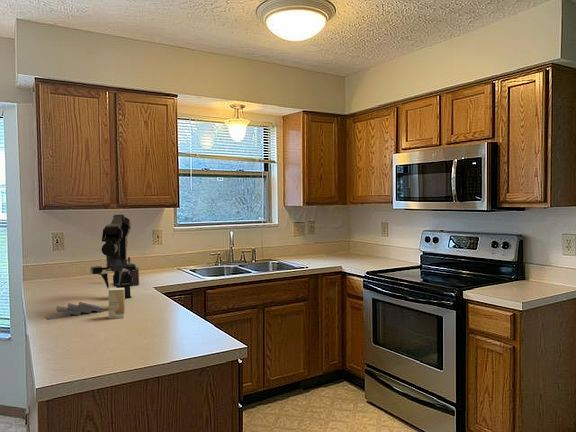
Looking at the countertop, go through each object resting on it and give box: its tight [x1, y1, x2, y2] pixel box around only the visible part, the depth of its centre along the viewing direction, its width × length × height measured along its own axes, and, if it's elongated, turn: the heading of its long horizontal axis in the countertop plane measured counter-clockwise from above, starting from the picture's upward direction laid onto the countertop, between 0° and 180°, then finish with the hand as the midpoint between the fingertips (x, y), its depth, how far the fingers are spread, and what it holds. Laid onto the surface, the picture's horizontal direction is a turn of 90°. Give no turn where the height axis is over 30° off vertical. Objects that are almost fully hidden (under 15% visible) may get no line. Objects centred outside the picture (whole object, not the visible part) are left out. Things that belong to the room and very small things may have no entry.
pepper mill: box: [122, 256, 140, 287], centre depth 263 cm, size 16×11×18 cm
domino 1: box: [46, 313, 72, 320], centre depth 191 cm, size 2×5×9 cm
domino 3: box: [67, 303, 92, 314], centre depth 196 cm, size 2×5×9 cm
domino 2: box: [56, 305, 82, 316], centre depth 194 cm, size 2×5×9 cm
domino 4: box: [77, 301, 103, 313], centre depth 198 cm, size 2×5×9 cm
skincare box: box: [108, 287, 126, 319], centre depth 189 cm, size 6×4×12 cm
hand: (114, 287), depth 204 cm, fingers open, 5 cm apart
